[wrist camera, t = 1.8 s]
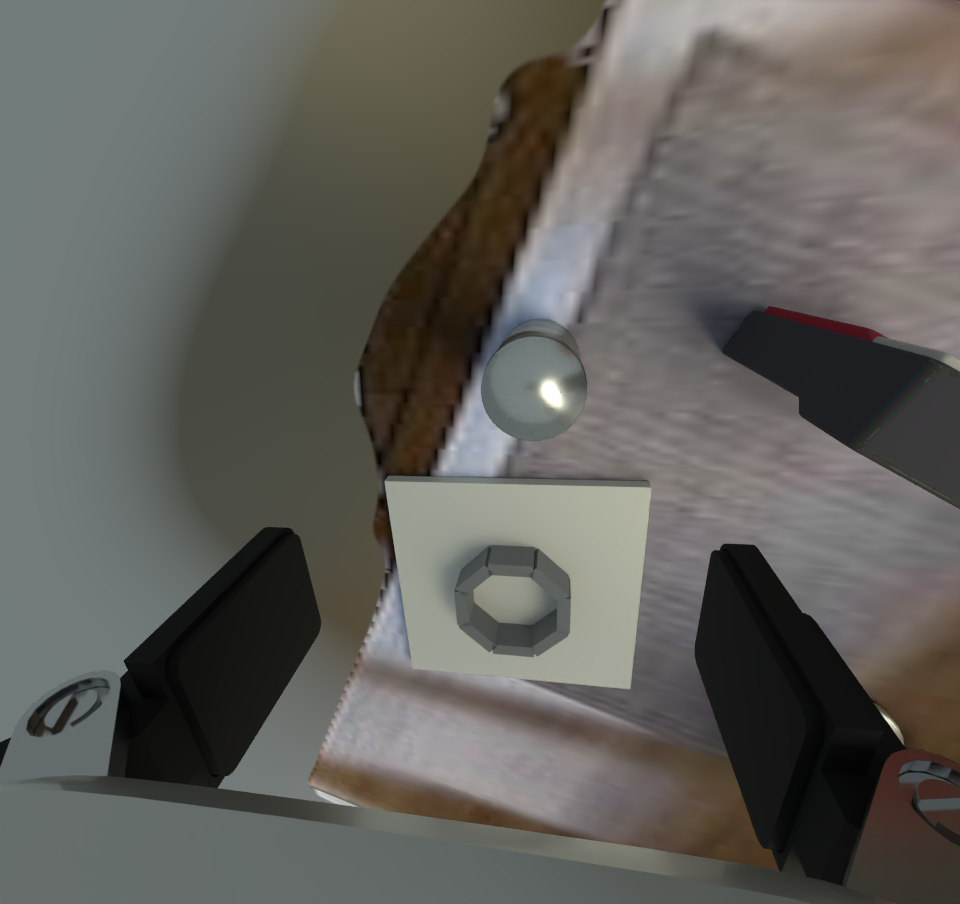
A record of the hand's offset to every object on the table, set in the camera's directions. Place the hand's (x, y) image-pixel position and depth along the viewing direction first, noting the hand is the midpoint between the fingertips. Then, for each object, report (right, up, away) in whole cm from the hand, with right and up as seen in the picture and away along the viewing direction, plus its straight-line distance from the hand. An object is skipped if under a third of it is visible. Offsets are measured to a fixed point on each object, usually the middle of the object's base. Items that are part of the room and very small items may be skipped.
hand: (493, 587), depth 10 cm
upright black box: (+21, +8, +18) cm, 29 cm away
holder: (+3, -8, +28) cm, 30 cm away
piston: (+4, +9, +21) cm, 23 cm away
